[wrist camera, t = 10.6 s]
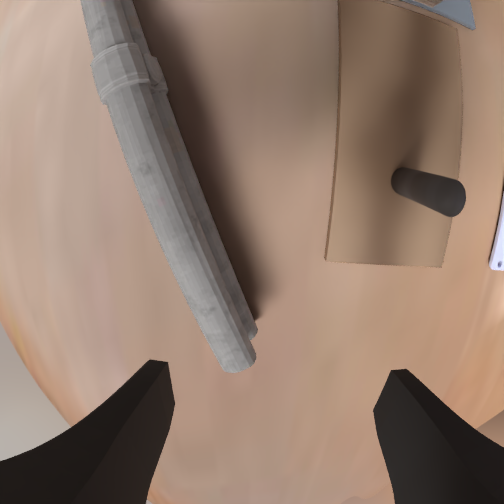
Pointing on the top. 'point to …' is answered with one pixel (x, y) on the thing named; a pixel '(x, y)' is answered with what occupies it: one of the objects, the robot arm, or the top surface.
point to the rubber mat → (452, 11)
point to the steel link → (429, 2)
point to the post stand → (395, 137)
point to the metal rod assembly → (167, 179)
